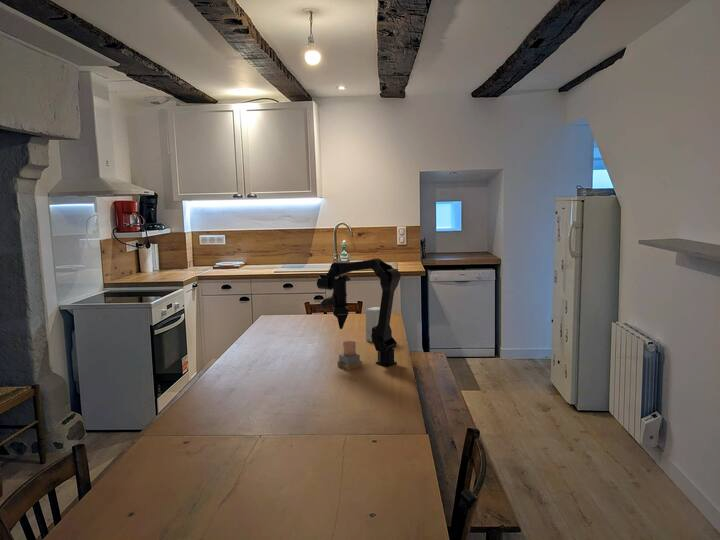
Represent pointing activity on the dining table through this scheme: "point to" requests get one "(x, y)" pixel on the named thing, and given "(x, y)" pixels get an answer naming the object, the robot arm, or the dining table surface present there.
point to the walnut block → (349, 365)
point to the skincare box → (371, 321)
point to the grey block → (349, 358)
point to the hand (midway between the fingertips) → (340, 326)
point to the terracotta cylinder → (349, 348)
